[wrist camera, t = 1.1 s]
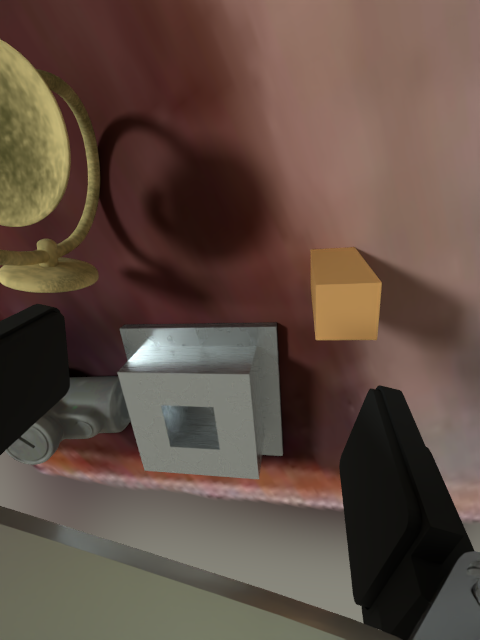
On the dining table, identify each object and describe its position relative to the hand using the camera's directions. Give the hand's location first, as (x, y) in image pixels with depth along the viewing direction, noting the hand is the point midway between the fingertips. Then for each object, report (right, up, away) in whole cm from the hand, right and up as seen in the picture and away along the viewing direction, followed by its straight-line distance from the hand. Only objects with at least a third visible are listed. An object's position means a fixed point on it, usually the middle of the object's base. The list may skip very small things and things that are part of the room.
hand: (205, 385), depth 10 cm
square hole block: (-3, -6, +26) cm, 27 cm away
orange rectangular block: (+9, +6, +18) cm, 22 cm away
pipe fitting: (-16, -6, +29) cm, 34 cm away
